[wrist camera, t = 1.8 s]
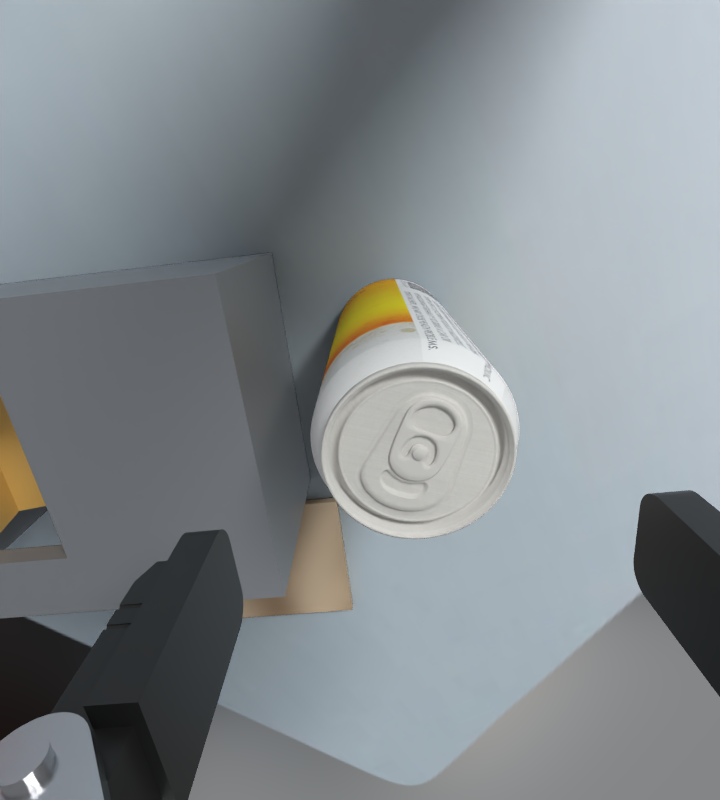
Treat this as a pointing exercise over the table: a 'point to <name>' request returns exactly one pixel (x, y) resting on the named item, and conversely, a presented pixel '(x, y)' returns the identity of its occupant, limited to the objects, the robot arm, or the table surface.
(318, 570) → the coaster
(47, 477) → the box
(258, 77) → the table surface
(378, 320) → the beer can
